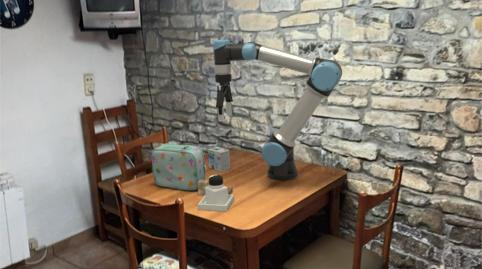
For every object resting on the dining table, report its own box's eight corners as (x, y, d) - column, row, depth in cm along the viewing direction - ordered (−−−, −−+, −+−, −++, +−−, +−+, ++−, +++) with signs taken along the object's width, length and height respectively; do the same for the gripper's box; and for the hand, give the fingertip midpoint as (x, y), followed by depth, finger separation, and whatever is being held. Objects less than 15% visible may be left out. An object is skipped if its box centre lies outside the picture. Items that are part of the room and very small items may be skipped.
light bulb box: (208, 168, 244) (207, 148, 241) (218, 165, 248) (217, 146, 246) (221, 172, 236) (220, 152, 234) (231, 169, 241) (230, 149, 238)
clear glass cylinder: (209, 192, 209) (208, 180, 207) (206, 195, 205) (206, 182, 203) (201, 191, 210) (200, 179, 208) (198, 195, 206) (197, 182, 204)
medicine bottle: (228, 202, 193) (227, 176, 190) (215, 207, 189) (213, 180, 186) (219, 198, 199) (217, 172, 196) (205, 202, 195) (203, 176, 192)
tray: (234, 200, 198) (233, 194, 198) (226, 211, 186) (226, 205, 186) (206, 198, 201) (206, 193, 200) (197, 209, 189) (197, 204, 189)
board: (232, 192, 208) (232, 187, 208) (229, 199, 201) (229, 193, 200) (211, 192, 210) (211, 186, 210) (207, 198, 203) (207, 193, 202)
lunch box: (210, 186, 217) (208, 143, 212) (200, 193, 208) (197, 148, 202) (163, 180, 228) (160, 139, 222) (152, 187, 218) (148, 144, 213)
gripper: (222, 70, 222) (224, 113, 227) (207, 76, 199) (210, 123, 204) (237, 70, 220) (239, 113, 225) (223, 76, 197) (226, 124, 202)
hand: (225, 118), depth 214 cm, fingers open, 13 cm apart
